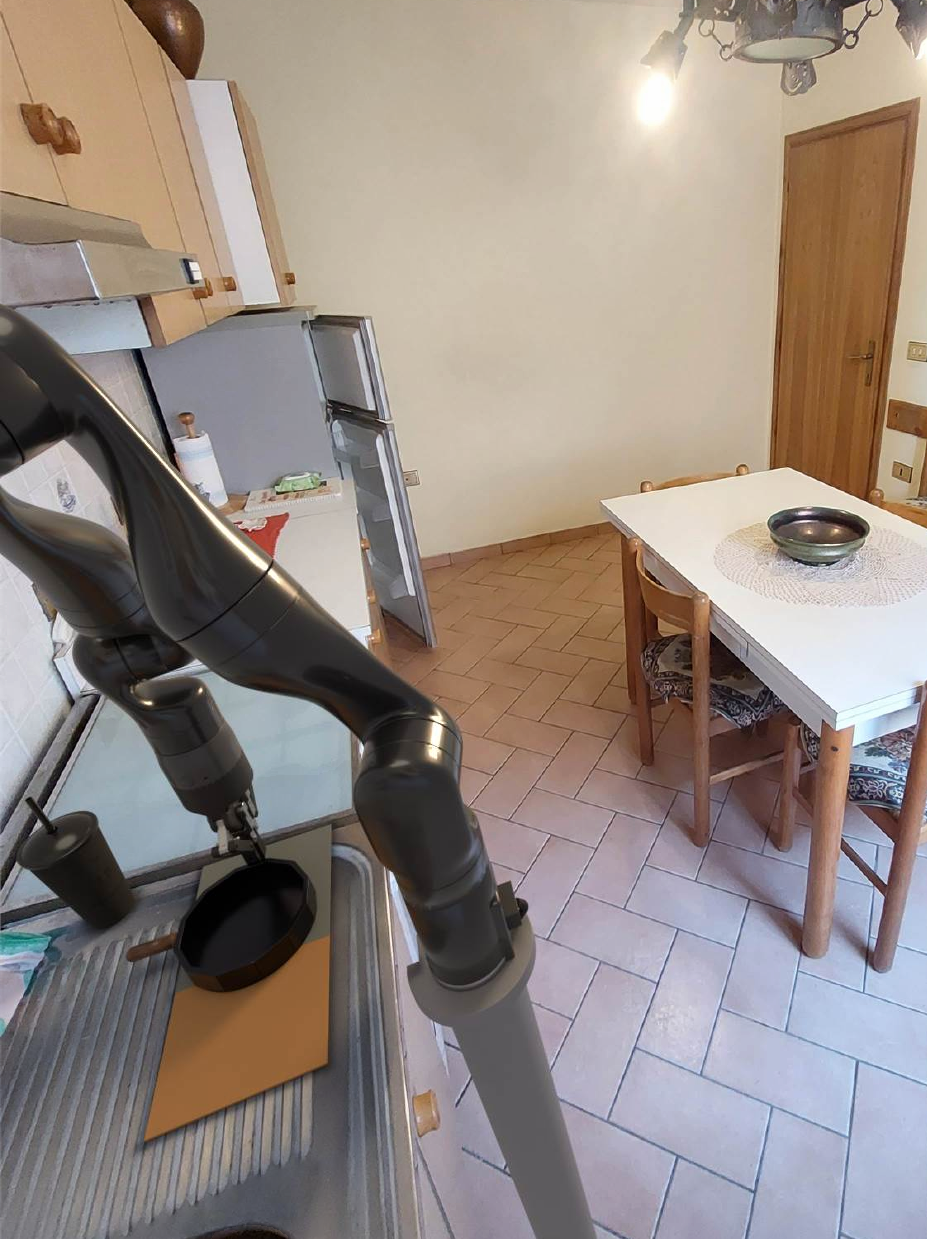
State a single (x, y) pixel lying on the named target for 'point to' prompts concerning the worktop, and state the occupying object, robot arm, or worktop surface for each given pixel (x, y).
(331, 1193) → the worktop surface
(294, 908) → the skillet
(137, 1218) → the worktop surface
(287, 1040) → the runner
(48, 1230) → the worktop surface
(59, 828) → the drinking cup
